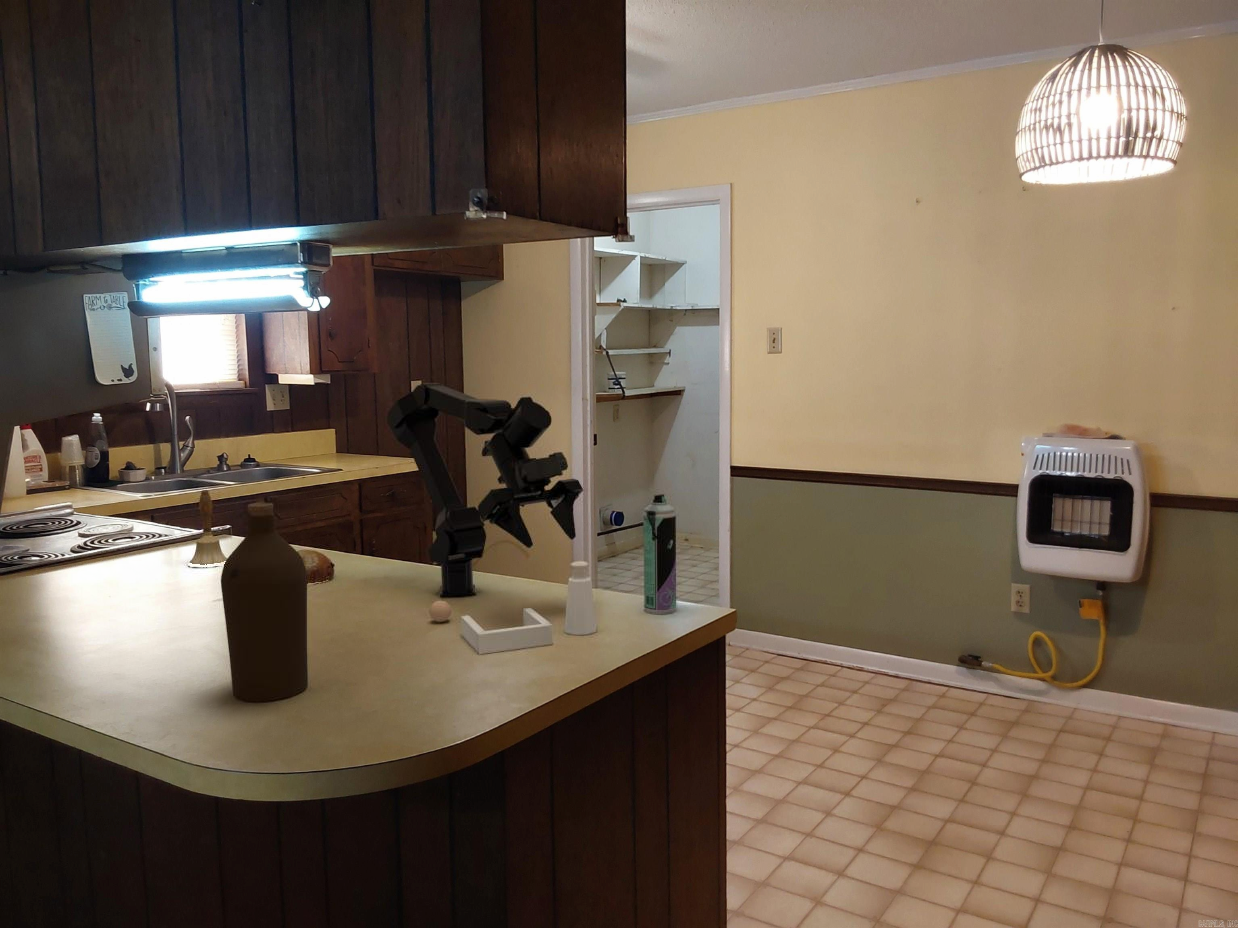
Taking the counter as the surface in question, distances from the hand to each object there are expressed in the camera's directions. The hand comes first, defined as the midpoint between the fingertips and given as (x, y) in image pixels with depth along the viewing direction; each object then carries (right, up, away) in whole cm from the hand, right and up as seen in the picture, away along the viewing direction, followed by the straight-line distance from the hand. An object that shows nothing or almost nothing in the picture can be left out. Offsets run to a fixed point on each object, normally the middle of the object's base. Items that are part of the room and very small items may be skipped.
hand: (552, 542), depth 157 cm
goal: (-7, -14, -8) cm, 18 cm away
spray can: (+18, -12, +7) cm, 23 cm away
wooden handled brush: (-77, -9, +48) cm, 91 cm away
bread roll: (-50, -10, +32) cm, 61 cm away
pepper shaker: (+5, -14, -4) cm, 15 cm away
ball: (-19, -13, +2) cm, 23 cm away
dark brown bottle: (-35, -17, -29) cm, 49 cm away
